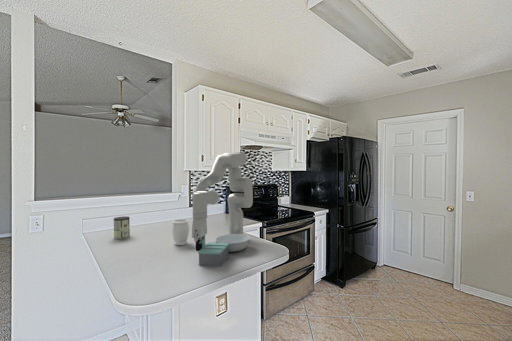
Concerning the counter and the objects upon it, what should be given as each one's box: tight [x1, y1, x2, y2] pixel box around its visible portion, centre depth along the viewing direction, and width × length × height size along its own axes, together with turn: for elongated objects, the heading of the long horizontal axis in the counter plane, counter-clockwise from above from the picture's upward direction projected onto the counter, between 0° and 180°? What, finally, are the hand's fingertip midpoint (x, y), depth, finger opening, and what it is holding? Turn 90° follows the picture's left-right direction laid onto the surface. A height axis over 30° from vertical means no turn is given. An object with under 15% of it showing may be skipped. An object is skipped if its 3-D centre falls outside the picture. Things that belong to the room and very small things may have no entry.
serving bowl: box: [214, 233, 251, 253], centre depth 147 cm, size 21×21×7 cm
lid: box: [197, 237, 229, 255], centre depth 130 cm, size 16×16×7 cm
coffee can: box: [113, 215, 131, 240], centre depth 179 cm, size 10×10×14 cm
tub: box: [198, 247, 229, 267], centre depth 130 cm, size 15×11×6 cm
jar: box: [171, 219, 190, 246], centre depth 160 cm, size 11×10×15 cm
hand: (200, 249), depth 131 cm, fingers closed on lid, 3 cm apart
